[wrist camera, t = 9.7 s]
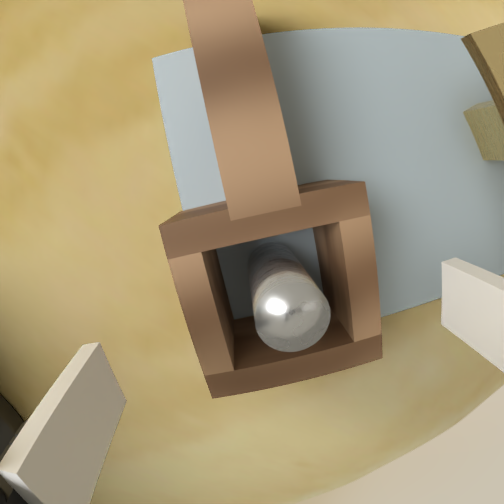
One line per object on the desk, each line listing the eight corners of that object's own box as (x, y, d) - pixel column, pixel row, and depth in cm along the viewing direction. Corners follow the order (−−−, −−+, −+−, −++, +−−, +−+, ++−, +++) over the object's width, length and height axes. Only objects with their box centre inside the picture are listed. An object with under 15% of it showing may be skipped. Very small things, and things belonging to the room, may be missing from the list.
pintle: (252, 289, 21) (263, 359, 13) (242, 245, 20) (247, 292, 12) (297, 279, 21) (334, 341, 13) (289, 235, 20) (325, 274, 12)
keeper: (457, 241, 21) (551, 278, 12) (382, 81, 18) (470, 33, 9) (508, 199, 21) (596, 216, 11) (445, 53, 18) (530, 15, 8)
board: (222, 351, 22) (222, 355, 21) (154, 61, 17) (151, 58, 17) (512, 266, 22) (516, 268, 21) (479, 41, 17) (483, 40, 17)
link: (347, 313, 21) (382, 357, 15) (217, 343, 21) (212, 398, 15) (283, 6, 16) (300, -44, 11) (146, 34, 16) (117, -10, 11)
